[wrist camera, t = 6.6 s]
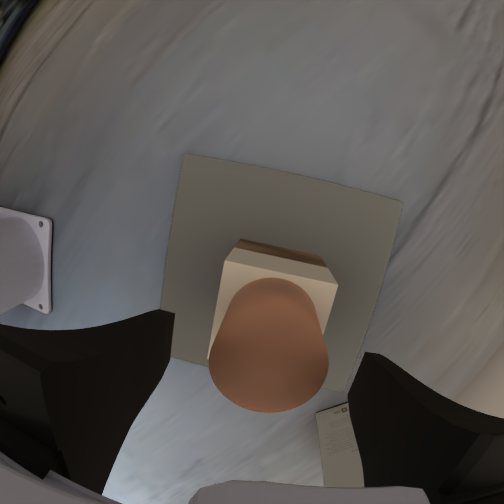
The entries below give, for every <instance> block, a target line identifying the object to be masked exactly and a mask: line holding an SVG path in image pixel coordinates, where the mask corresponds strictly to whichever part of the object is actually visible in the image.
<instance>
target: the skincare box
mask: <svg viewBox="0 0 504 504" xmlns="http://www.w3.org/2000/svg"><path fill="white" fill-rule="evenodd" d="M316 420H317V428H318V436H319V444H320V453H321V463H322V471H323V480H324V487H347V488H360V487H364V478H363V468H362V463H361V458H360V454H359V450H358V446H357V442H356V438H355V435H354V431H353V427H352V423H351V419H350V414H349V405H348V403H345V404H342V405H340V406H337V407H334V408H331V409H327V410H324V411H321V412H318V413H316Z"/></svg>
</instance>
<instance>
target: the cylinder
mask: <svg viewBox="0 0 504 504" xmlns="http://www.w3.org/2000/svg"><path fill="white" fill-rule="evenodd" d="M328 368H329V358H328V353H327V349H326V345H325V342H324V338H323V335H322V331H321V328H320V324H319V321H318V317H317V314H316V310H315V307H314V304H313V302H312V300H311V298H310V297H309V295H308V294H307V293H306V292H305V291H304V290H303V289H302V288H301V287H300V286H298V285H296V284H295V283H293V282H291V281H288V280H285V279H281V278H272V277H271V278H262V279H258V280H255V281H252V282H250V283H248V284H246V285H245V286H243V287H242V288H241V289H240V290H239V291H238V292H237V293H236V294H235V295H234V297H233V298H232V300H231V302H230V304H229V306H228V309H227V311H226V314H225V316H224V318H223V321H222V323H221V325H220V328H219V330H218V333H217V335H216V337H215V340H214V342H213V344H212V347H211V350H210V354H209V370H210V374H211V377H212V379H213V381H214V383H215V385H216V386H217V388H218V389H219V391H220V392H221V393H222V394H223V395H224V396H225V397H226V398H228V399H229V400H230V401H232V402H233V403H235V404H237V405H239V406H241V407H243V408H246V409H249V410H252V411H257V412H267V413H271V412H282V411H286V410H290V409H293V408H296V407H298V406H300V405H302V404H304V403H305V402H307V401H308V400H309V399H311V398H312V397H313V396H314V395H315V394H316V393H317V392H318V391H319V389H320V388H321V387H322V385H323V383H324V381H325V379H326V376H327V373H328Z"/></svg>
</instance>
